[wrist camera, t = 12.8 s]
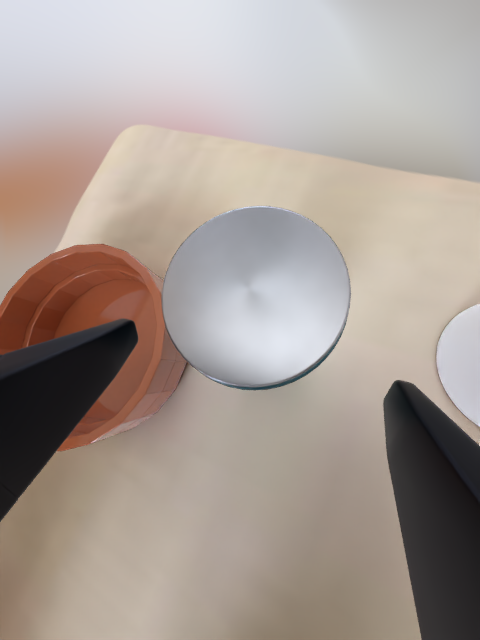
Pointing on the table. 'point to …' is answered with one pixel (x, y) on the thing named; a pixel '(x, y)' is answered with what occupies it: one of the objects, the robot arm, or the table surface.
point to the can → (256, 297)
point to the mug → (462, 362)
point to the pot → (92, 310)
